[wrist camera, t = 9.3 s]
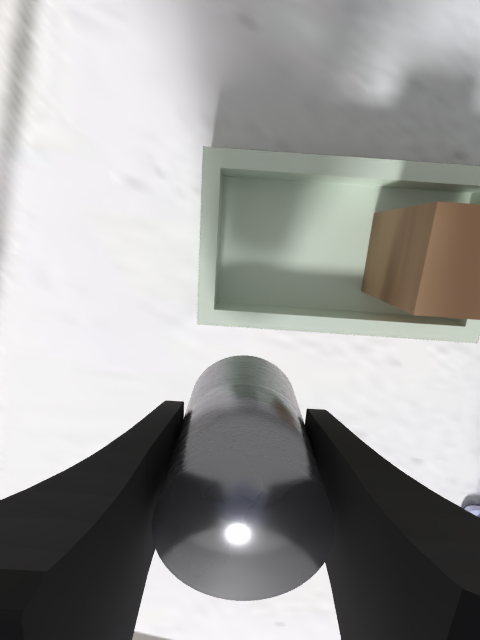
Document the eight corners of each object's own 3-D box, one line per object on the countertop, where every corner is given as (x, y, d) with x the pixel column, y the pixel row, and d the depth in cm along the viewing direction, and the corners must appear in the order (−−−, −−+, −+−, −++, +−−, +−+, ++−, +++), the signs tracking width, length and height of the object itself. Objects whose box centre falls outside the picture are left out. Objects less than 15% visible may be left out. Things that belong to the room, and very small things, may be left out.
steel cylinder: (300, 358, 12) (347, 460, 6) (289, 451, 13) (322, 605, 7) (192, 352, 12) (150, 448, 6) (190, 445, 13) (152, 595, 7)
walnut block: (452, 218, 16) (554, 209, 11) (434, 296, 17) (520, 322, 12) (373, 213, 16) (437, 201, 11) (360, 290, 17) (413, 315, 12)
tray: (482, 178, 16) (524, 168, 14) (446, 329, 18) (477, 343, 16) (209, 159, 16) (203, 146, 14) (203, 312, 18) (196, 324, 16)
